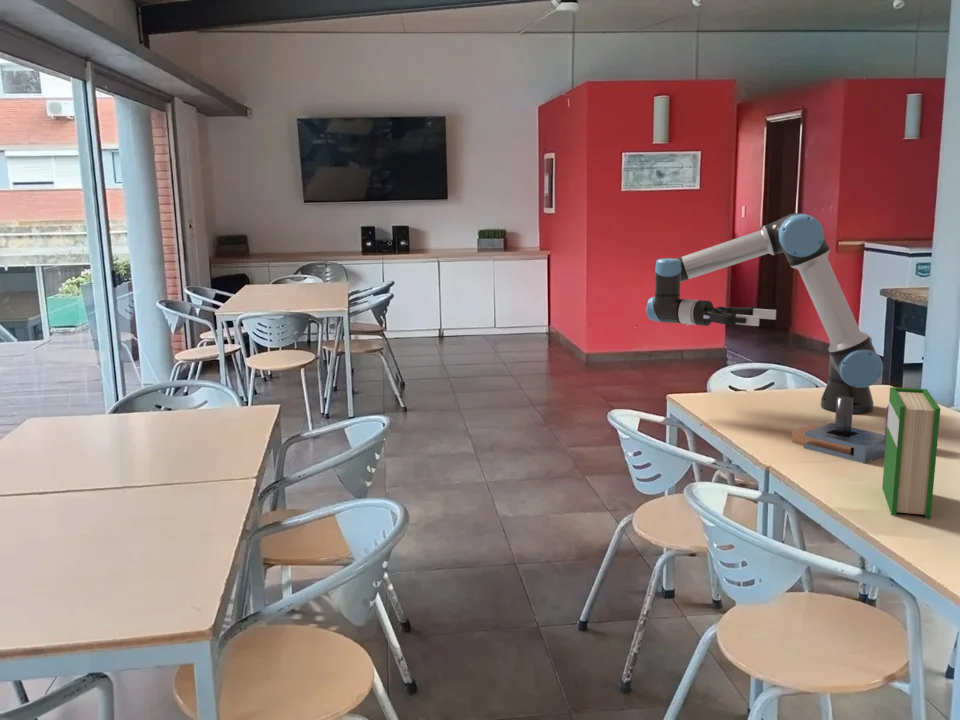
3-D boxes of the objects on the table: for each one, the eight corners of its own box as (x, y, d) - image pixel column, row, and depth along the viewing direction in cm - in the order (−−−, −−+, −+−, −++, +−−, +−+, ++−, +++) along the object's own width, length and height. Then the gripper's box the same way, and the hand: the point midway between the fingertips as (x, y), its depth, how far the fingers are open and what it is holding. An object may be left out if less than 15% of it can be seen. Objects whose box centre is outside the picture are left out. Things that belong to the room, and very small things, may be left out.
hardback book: (930, 519, 178) (940, 408, 173) (891, 515, 181) (900, 406, 176) (917, 490, 194) (926, 389, 190) (882, 487, 197) (890, 387, 192)
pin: (838, 445, 228) (842, 395, 225) (852, 449, 225) (856, 398, 222) (830, 448, 226) (833, 397, 223) (844, 452, 223) (848, 400, 220)
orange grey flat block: (787, 443, 231) (788, 427, 230) (814, 434, 239) (815, 419, 238) (864, 463, 214) (865, 446, 213) (891, 453, 221) (892, 436, 220)
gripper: (713, 319, 265) (781, 324, 252) (678, 330, 246) (750, 337, 233) (714, 295, 263) (782, 299, 250) (679, 305, 244) (751, 310, 231)
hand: (767, 318), depth 242 cm, fingers open, 13 cm apart
